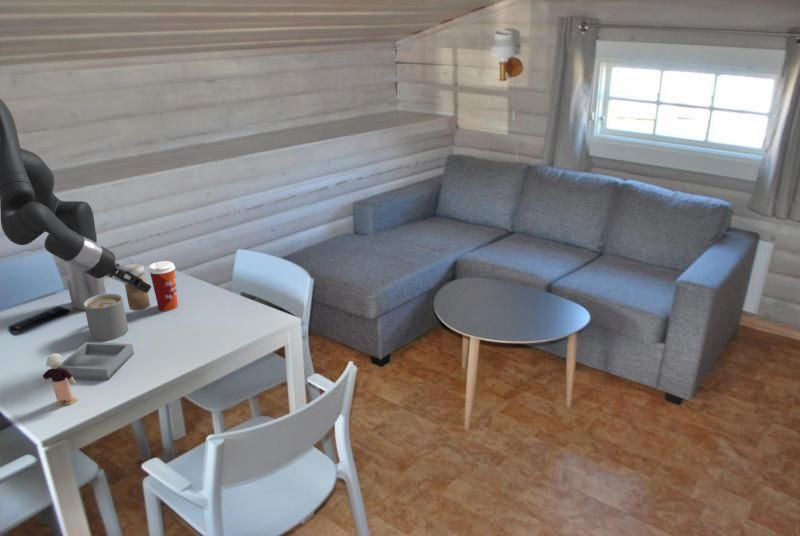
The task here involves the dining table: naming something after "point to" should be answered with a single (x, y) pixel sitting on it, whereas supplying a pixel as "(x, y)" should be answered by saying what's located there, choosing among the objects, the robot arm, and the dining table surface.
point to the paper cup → (164, 284)
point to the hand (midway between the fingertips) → (142, 286)
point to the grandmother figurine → (59, 380)
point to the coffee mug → (106, 316)
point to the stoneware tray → (97, 360)
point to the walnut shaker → (135, 295)
